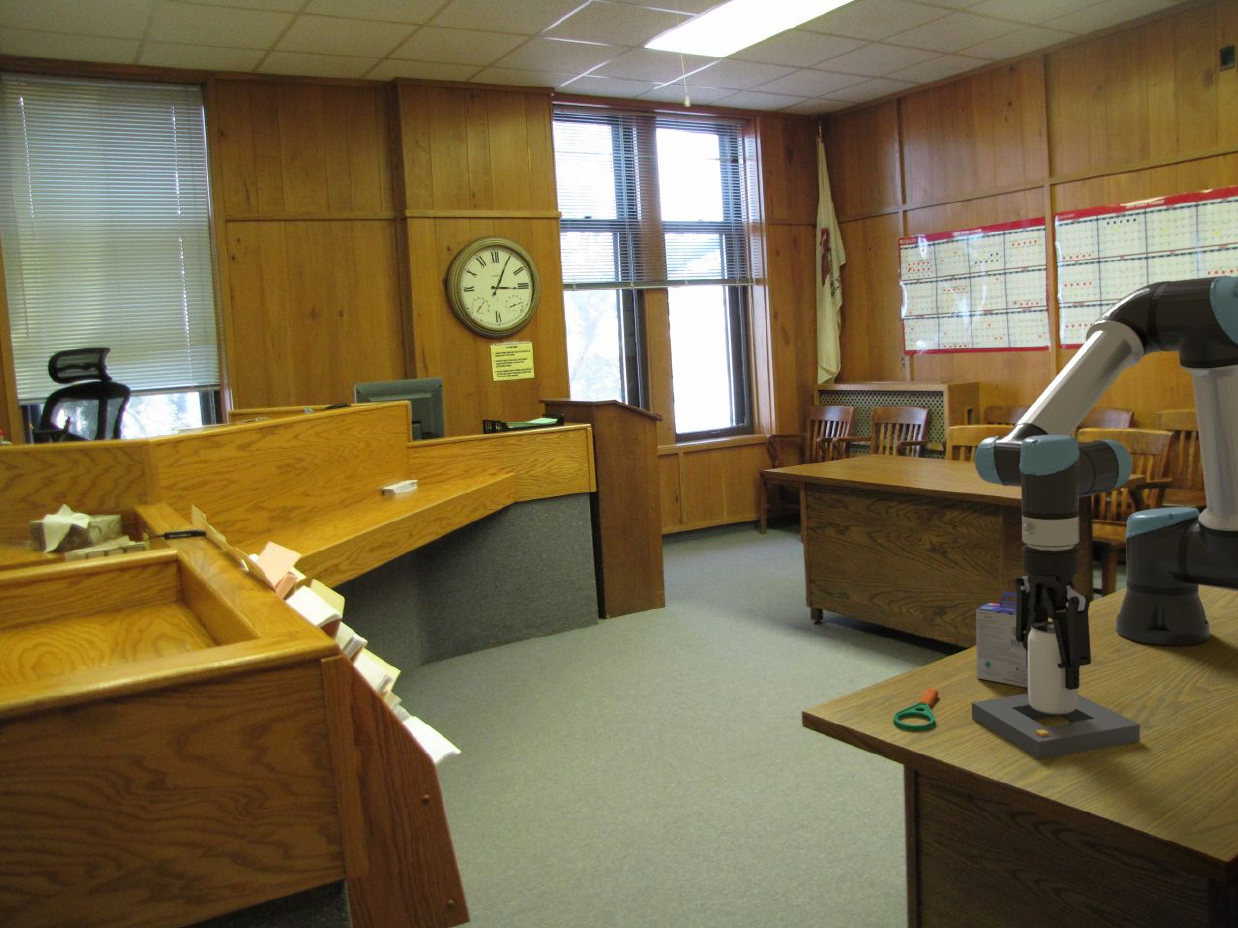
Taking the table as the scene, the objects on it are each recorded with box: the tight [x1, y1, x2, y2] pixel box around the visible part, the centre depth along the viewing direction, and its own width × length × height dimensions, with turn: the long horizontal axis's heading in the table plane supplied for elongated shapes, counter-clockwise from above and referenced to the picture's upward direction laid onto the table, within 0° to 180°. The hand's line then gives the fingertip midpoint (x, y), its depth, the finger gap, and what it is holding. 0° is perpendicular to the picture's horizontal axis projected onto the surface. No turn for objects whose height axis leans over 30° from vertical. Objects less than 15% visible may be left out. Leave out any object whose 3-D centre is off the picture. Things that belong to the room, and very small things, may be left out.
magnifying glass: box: [893, 687, 939, 732], centre depth 157 cm, size 15×6×2 cm, turn 150°
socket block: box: [971, 692, 1141, 760], centre depth 147 cm, size 16×16×3 cm
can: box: [1028, 620, 1075, 715], centre depth 146 cm, size 6×6×12 cm
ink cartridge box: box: [975, 591, 1028, 689], centre depth 167 cm, size 10×6×14 cm, turn 46°
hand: (1052, 700), depth 147 cm, fingers closed on can, 6 cm apart
